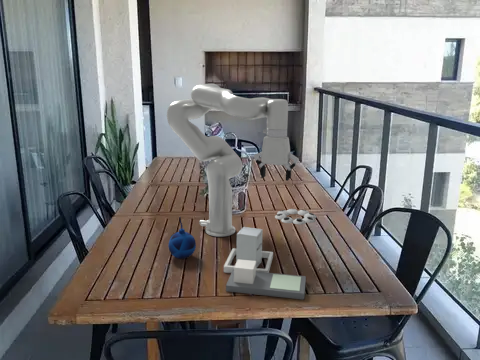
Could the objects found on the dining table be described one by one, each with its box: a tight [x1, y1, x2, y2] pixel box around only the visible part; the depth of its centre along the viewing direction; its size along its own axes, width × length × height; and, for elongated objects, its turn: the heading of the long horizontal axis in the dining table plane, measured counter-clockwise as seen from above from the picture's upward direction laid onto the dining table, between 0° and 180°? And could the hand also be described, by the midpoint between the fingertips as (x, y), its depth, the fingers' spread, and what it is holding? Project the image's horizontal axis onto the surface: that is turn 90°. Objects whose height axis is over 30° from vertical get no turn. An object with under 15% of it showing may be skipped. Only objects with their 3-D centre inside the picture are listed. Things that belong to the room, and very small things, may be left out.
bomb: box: [167, 216, 197, 260], centre depth 153 cm, size 10×11×15 cm
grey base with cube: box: [225, 259, 307, 300], centre depth 134 cm, size 24×11×7 cm, turn 79°
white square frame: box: [223, 247, 274, 274], centre depth 149 cm, size 15×15×2 cm
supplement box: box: [235, 226, 264, 268], centre depth 148 cm, size 7×7×13 cm
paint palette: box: [274, 208, 317, 225], centre depth 197 cm, size 20×20×2 cm
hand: (275, 178), depth 160 cm, fingers open, 9 cm apart
